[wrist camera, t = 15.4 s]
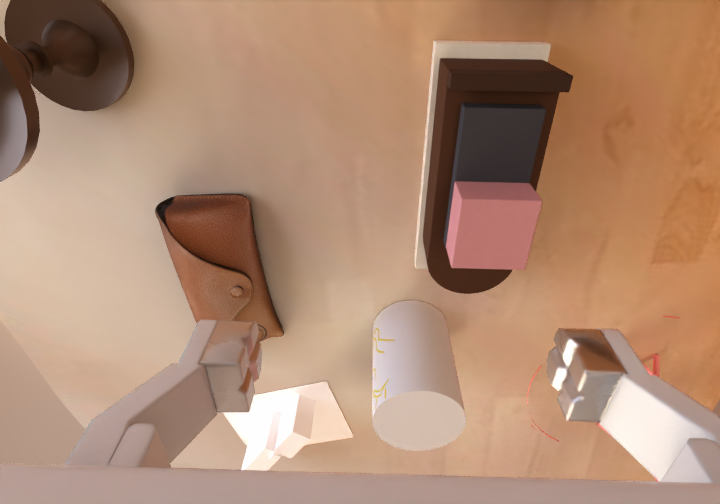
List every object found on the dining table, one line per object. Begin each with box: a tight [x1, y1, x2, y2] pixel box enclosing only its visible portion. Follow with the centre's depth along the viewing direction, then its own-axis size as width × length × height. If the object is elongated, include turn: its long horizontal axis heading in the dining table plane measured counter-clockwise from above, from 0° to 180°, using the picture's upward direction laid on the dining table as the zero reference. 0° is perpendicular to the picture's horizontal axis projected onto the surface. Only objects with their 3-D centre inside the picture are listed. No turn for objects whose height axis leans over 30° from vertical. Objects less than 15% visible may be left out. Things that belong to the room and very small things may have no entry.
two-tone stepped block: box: [444, 103, 546, 270], centre depth 32 cm, size 11×5×4 cm, turn 179°
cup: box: [372, 300, 466, 451], centre depth 44 cm, size 8×8×12 cm
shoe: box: [414, 40, 573, 294], centre depth 36 cm, size 20×8×8 cm, turn 179°
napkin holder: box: [223, 381, 354, 471], centre depth 56 cm, size 15×11×6 cm
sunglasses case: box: [155, 194, 284, 342], centre depth 45 cm, size 18×7×7 cm, turn 7°
